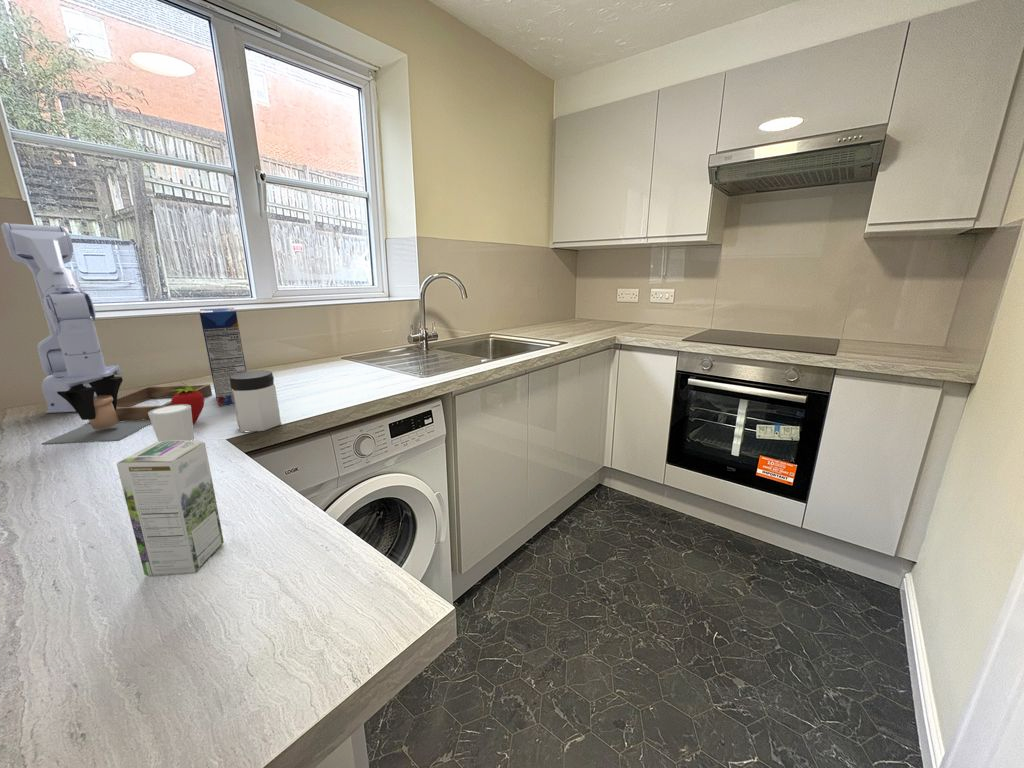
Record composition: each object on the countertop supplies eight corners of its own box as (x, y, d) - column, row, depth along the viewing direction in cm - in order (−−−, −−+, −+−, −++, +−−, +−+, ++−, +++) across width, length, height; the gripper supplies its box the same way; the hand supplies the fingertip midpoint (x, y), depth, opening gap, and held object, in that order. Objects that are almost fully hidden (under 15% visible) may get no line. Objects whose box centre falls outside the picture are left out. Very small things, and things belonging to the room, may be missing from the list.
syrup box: (178, 545, 53) (152, 440, 49) (227, 543, 53) (205, 438, 50) (144, 577, 48) (111, 461, 44) (198, 574, 48) (171, 459, 44)
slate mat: (41, 444, 84) (41, 443, 84) (90, 423, 95) (90, 422, 95) (119, 440, 86) (119, 439, 86) (158, 420, 97) (158, 419, 97)
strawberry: (173, 430, 91) (163, 386, 88) (180, 420, 97) (170, 378, 95) (206, 426, 94) (197, 383, 91) (210, 416, 100) (202, 375, 97)
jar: (284, 427, 93) (276, 375, 90) (241, 436, 88) (231, 381, 85) (276, 416, 100) (268, 368, 97) (236, 424, 95) (226, 373, 92)
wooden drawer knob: (83, 430, 88) (71, 405, 86) (102, 420, 93) (92, 395, 90) (110, 429, 89) (99, 403, 86) (127, 418, 93) (118, 394, 91)
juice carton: (217, 395, 116) (200, 309, 110) (248, 391, 120) (233, 307, 114) (218, 406, 107) (199, 312, 100) (251, 401, 111) (236, 311, 105)
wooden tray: (89, 422, 96) (86, 409, 95) (149, 396, 115) (146, 386, 114) (165, 418, 98) (163, 406, 97) (212, 394, 117) (210, 384, 116)
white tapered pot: (205, 437, 87) (199, 405, 86) (170, 450, 81) (162, 416, 79) (183, 433, 90) (176, 402, 88) (147, 445, 83) (139, 412, 81)
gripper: (74, 359, 79) (93, 425, 83) (129, 345, 93) (144, 403, 97) (31, 360, 78) (52, 427, 82) (94, 346, 92) (110, 404, 96)
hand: (99, 414), depth 89 cm, fingers closed on wooden drawer knob, 5 cm apart
